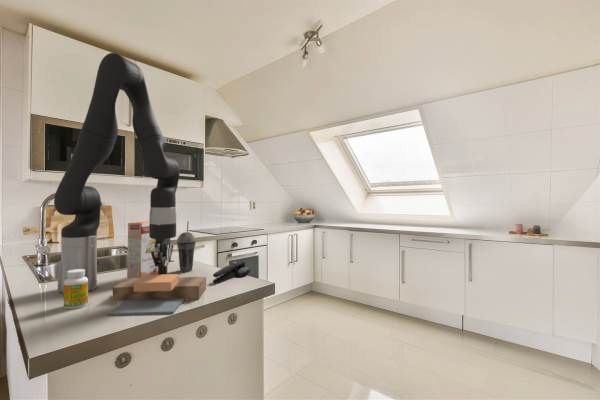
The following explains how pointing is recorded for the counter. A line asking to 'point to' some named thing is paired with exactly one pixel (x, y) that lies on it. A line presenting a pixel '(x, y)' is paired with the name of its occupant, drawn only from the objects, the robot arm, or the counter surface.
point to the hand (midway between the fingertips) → (162, 278)
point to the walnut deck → (184, 289)
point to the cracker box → (140, 251)
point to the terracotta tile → (156, 282)
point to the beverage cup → (186, 250)
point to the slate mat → (147, 306)
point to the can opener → (231, 271)
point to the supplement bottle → (75, 289)
